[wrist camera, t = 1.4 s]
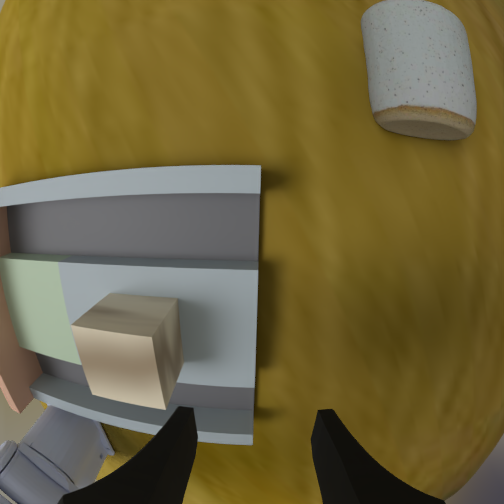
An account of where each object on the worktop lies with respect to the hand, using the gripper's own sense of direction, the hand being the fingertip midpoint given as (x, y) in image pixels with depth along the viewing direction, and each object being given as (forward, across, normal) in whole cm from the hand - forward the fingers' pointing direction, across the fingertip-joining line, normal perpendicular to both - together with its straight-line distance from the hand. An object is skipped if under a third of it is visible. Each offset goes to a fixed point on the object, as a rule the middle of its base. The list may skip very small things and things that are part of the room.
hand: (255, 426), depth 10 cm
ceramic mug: (+11, -11, -18) cm, 24 cm away
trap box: (+10, +12, 0) cm, 16 cm away
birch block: (+8, +8, 0) cm, 11 cm away
